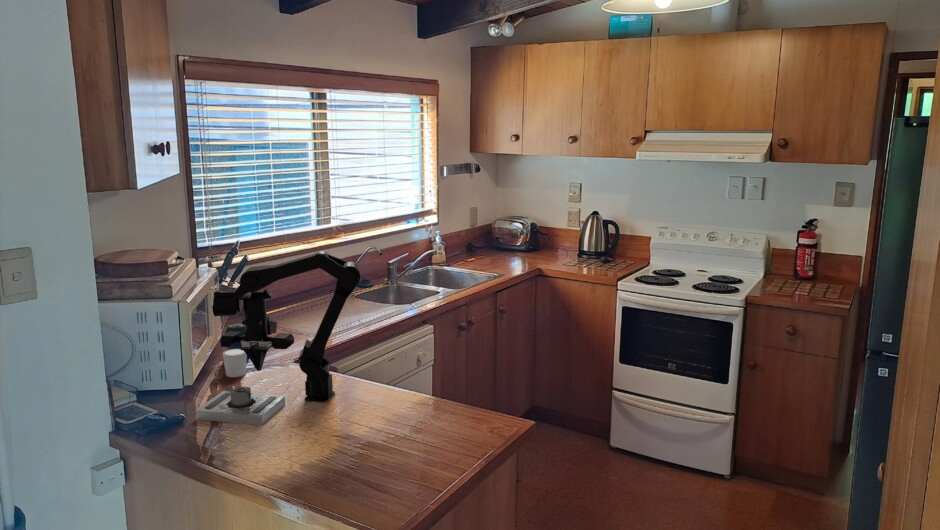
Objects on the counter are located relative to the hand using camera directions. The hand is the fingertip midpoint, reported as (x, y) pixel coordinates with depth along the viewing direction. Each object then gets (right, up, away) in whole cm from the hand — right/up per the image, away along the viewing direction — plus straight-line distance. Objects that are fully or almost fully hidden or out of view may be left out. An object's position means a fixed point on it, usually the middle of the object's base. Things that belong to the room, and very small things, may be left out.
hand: (259, 370), depth 183 cm
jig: (-3, -10, -6) cm, 12 cm away
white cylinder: (-14, -5, +21) cm, 26 cm away
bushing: (-3, -10, -6) cm, 12 cm away
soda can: (-17, -2, +33) cm, 37 cm away
